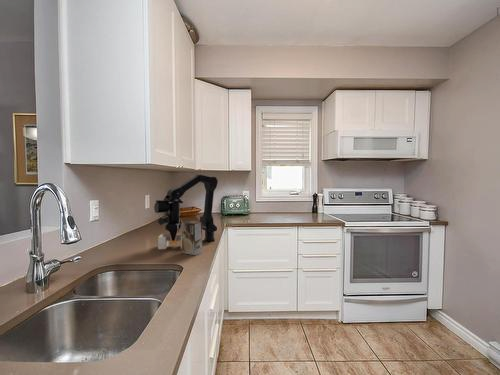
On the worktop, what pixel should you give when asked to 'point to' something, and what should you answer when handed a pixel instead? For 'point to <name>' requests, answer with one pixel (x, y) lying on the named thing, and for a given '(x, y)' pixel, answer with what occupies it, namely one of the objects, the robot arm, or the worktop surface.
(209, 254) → the worktop surface
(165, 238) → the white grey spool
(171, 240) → the orange u-channel
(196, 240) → the coffee box
